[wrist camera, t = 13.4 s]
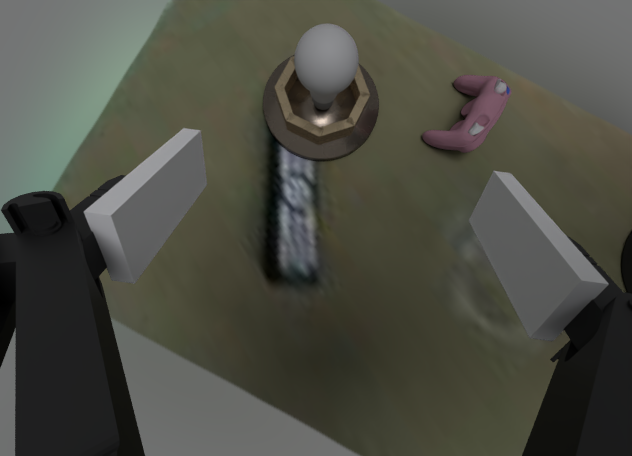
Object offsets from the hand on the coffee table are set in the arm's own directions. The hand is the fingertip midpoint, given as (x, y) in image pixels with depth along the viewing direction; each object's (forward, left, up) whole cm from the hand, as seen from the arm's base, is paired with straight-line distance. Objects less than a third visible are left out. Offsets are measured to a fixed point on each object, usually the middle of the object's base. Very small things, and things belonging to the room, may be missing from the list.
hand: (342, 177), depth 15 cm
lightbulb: (+7, -14, -22) cm, 27 cm away
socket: (+7, -14, -23) cm, 28 cm away
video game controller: (-9, -20, -23) cm, 32 cm away
